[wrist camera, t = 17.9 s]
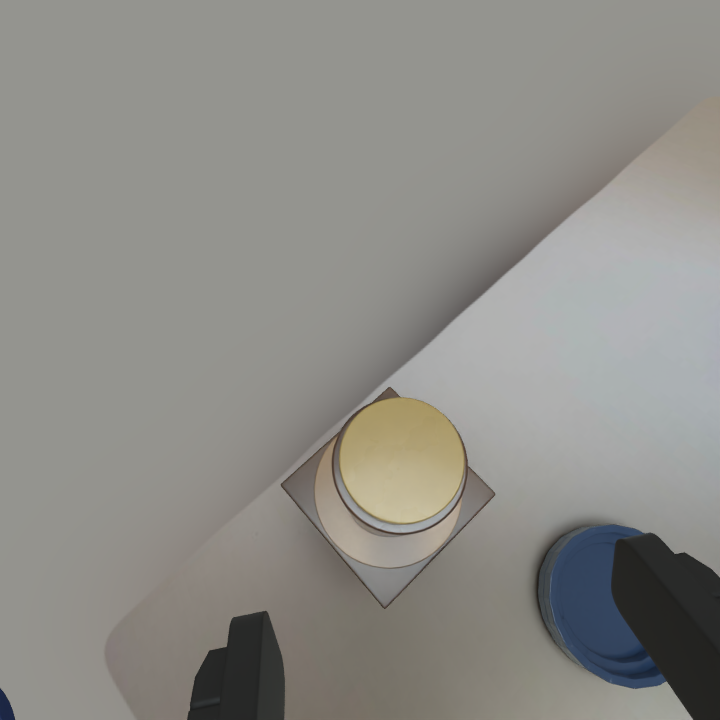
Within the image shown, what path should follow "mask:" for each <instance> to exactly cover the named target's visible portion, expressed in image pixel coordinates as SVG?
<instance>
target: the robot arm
mask: <svg viewBox="0 0 720 720" xmlns="http://www.w3.org/2000/svg"><path fill="white" fill-rule="evenodd" d="M611 591H612V596H613V599H614V602H615V604H616V606H617V609H618V610H619V612H620V614H621V615H622V617H623V618H624V620H625V621H626V623H627V624H628V626H629V627H630V629H631V630H632V632H633V633H634V634H635V636H636V637H637V639H638V640H639V642H640V643H641V645H642V646H643V647H644V649H645V650H646V652H647V653H648V655H649V656H650V658H651V659H652V660H653V662H654V663H655V665H656V666H657V668H658V669H659V671H660V672H661V674H662V675H663V676H664V678H665V679H666V681H667V682H668V684H669V685H670V687H671V688H672V689H673V691H674V692H675V694H676V695H677V697H678V698H679V700H680V701H681V703H682V704H683V705H684V707H685V708H686V710H687V711H688V713H689V714H690V716H691V717H692V718H693V720H720V577H719V576H718V575H717V574H716V573H715V572H714V571H713V570H712V569H711V568H709V567H707V566H706V565H704V564H702V563H701V562H699V561H698V560H696V559H694V558H693V557H691V556H690V555H688V554H686V553H685V552H684V553H679V554H674V553H673V552H672V551H671V550H670V549H669V547H668V546H667V545H666V544H665V543H664V542H663V541H662V540H661V539H660V538H659V537H658V536H657V535H655V534H653V533H646V534H641V535H636V536H631V537H626V538H622V539H618V540H617V541H616V543H615V550H614V559H613V569H612V578H611ZM284 706H285V677H284V666H283V660H282V655H281V651H280V648H279V645H278V642H277V639H276V636H275V633H274V630H273V627H272V624H271V620H270V617H269V615H268V612H267V611H262V612H258V613H253V614H248V615H243V616H238V617H234V618H232V620H231V623H230V628H229V635H228V643H227V647H224V648H220V649H215V650H210V651H209V652H208V654H207V656H206V658H205V660H204V662H203V663H202V665H201V667H200V669H199V671H198V673H197V674H196V676H195V680H194V686H193V691H192V697H191V702H190V711H189V713H188V718H187V720H284Z"/></svg>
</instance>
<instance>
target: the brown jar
mask: <svg viewBox="0 0 720 720" xmlns="http://www.w3.org/2000/svg"><path fill="white" fill-rule="evenodd" d="M332 476H333V480H334V484H335V487H336V490H337V493H338V495H339V497H340V499H341V500H342V502H343V504H344V505H345V507H346V509H347V510H348V512H349V513H350V515H351V516H352V518H353V519H354V521H355V522H356V523H357V524H358V525H359V526H360V527H362V528H363V529H364V530H366V531H367V532H369V533H372V534H374V535H377V536H381V537H398V536H405V535H411V534H416V533H420V532H423V531H426V530H428V529H431V528H432V527H434V526H436V525H438V524H439V523H440V522H442V521H443V520H444V519H446V518H447V517H448V516H449V515H450V513H451V512H452V511H453V510H454V509H455V507H456V506H457V504H458V503H459V501H460V499H461V497H462V495H463V492H464V489H465V486H466V482H467V476H468V460H467V454H466V450H465V446H464V443H463V441H462V439H461V437H460V434H459V433H458V431H457V430H456V428H455V426H454V425H453V424H452V423H451V422H450V420H449V419H448V418H447V417H446V416H445V415H444V414H442V413H441V412H440V411H439V410H437V409H436V408H434V407H433V406H431V405H429V404H427V403H425V402H422V401H419V400H416V399H411V398H404V397H393V398H385V399H381V400H378V401H375V402H372V403H370V404H368V405H366V406H364V407H363V408H361V409H360V410H358V411H357V412H356V413H355V414H353V415H352V416H351V417H350V418H349V420H348V421H347V422H346V423H345V424H344V426H343V427H342V429H341V431H340V432H339V435H338V437H337V439H336V442H335V445H334V448H333V454H332Z"/></svg>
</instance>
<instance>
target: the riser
mask: <svg viewBox="0 0 720 720" xmlns="http://www.w3.org/2000/svg"><path fill="white" fill-rule="evenodd" d="M393 397H400V396H399V395H398V394H397V393H396V392H395V391H394V390H393V389H392V388H391V387H389V388H387V389H386V390H385V391H384V392H383V393H382V394H381V395H380V396H379V397H377V398H376V399H375V400H374V401H373V402H375V401H378V400H381V399H385V398H393ZM338 435H339V432H338V433H337V434H336V435H335V436H334V437H333V438H332V439H331V440H330V441H328V442H327V443H326V444H325V445H324V446H323V447H322V448H321V449H319V450H318V451H317V452H316V453H315V454H314V455H313V456H312V457H311V458H309V459H308V460H307V461H306V462H305V463H304V464H303V465H302V466H301V467H299V468H298V469H297V470H296V471H295V472H294V473H293V474H292V475H291V476H289V477H288V478H287V479H286V480H285V481H284V482H283V483H282V484H281V487H282V488H283V489H284V490H285V491H286V492H287V494H288V495H289V496H290V497H291V498H292V500H293V501H294V502H295V503H296V504H297V506H298V507H299V508H300V509H301V510H302V512H303V513H304V514H305V515H306V516H307V518H308V519H309V520H310V521H311V522H312V524H313V525H314V526H315V527H316V528H317V529H318V531H319V532H320V533H321V534H322V535H323V537H324V538H325V539H326V540H327V541H328V543H329V544H330V545H331V546H332V547H333V549H334V550H335V551H336V552H337V553H338V555H339V556H340V557H341V558H342V559H343V561H344V562H345V563H346V564H347V565H348V567H349V568H350V569H351V570H352V571H353V572H354V574H355V575H356V576H357V577H358V578H359V580H360V581H361V582H362V583H363V584H364V586H365V587H366V588H367V589H368V590H369V592H370V593H371V594H372V595H373V596H374V598H375V599H376V600H377V601H378V602H379V604H380V605H381V606H382V607H383V608H384V609H386V608H387V607H388V606H389V605H390V604H391V603H392V602H393V601H394V600H395V598H396V597H397V596H398V595H399V594H400V593H401V592H402V591H403V590H404V589H405V588H406V587H407V586H408V585H409V584H410V583H411V582H412V581H413V580H414V579H415V578H416V577H417V576H418V575H419V574H420V573H421V572H422V571H423V569H424V568H425V567H426V566H427V565H428V564H429V563H430V562H431V561H432V560H433V559H434V558H435V557H436V556H437V555H438V554H439V553H440V552H441V551H442V550H443V549H444V548H445V547H446V546H447V545H448V544H449V543H450V541H451V540H452V539H453V538H454V537H455V536H456V535H457V534H458V533H459V532H460V531H461V530H462V529H463V528H464V527H465V526H466V525H467V524H468V523H469V522H470V521H471V520H472V519H473V518H474V517H475V516H476V515H477V513H478V512H479V511H480V510H481V509H482V508H483V507H484V506H485V505H486V504H487V503H488V502H489V501H490V500H491V499H492V498H493V497H494V496H495V493H494V492H493V490H492V489H491V488H490V487H489V486H488V485H487V484H486V483H485V482H484V481H483V480H482V479H481V478H480V477H479V476H478V475H477V474H476V473H475V472H474V471H473V470H472V469H471V468H470V467H469V466H468V476H467V482H466V486H465V489H464V492H463V495H462V504H461V509H460V514H459V517H458V520H457V523H456V525H455V527H454V529H453V531H452V533H451V535H450V536H449V538H448V539H447V540H446V542H445V543H444V544H443V545H442V546H441V547H440V548H439V549H438V550H437V551H436V552H435V553H433V554H432V555H431V556H429V557H428V558H426V559H424V560H423V561H421V562H418V563H416V564H414V565H410V566H407V567H403V568H394V569H386V568H377V567H372V566H369V565H365V564H362V563H360V562H358V561H356V560H354V559H352V558H351V557H349V556H348V555H346V554H345V553H344V552H342V551H341V550H340V549H339V548H338V547H337V546H336V545H335V544H334V543H333V542H332V540H331V539H330V538H329V536H328V535H327V533H326V532H325V530H324V528H323V526H322V524H321V522H320V520H319V517H318V514H317V511H316V506H315V499H314V483H315V476H316V471H317V468H318V465H319V462H320V460H321V458H322V456H323V454H324V452H325V451H326V449H327V448H328V446H329V445H330V444H331V442H332V441H333V440H334V439H335V438H336V437H337V436H338Z"/></svg>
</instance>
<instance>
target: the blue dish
mask: <svg viewBox="0 0 720 720" xmlns="http://www.w3.org/2000/svg"><path fill="white" fill-rule="evenodd" d="M641 534H644V533H642V532H641V531H639V530H637V529H633V528H629V527H624V526H619V525H599V526H590V527H582V528H578V529H576V530H574V531H572V532H570V533H568V534H566V535H564V536H562V537H561V538H560V539H559V540H558V541H557V542H556V543H555V545H554V546H553V547H552V548H551V549H550V550H549V551H548V553H547V555H546V558H545V560H544V563H543V565H542V568H541V570H540V573H539V587H538V598H539V603H540V607H541V612H542V617H543V619H544V622H545V624H546V626H547V628H548V629H549V631H550V633H551V635H552V637H553V639H554V641H555V642H556V644H557V645H558V646H559V647H560V648H561V649H562V650H563V651H564V652H565V653H566V654H567V655H568V657H569V658H570V659H571V660H572V661H574V662H575V663H577V664H578V665H580V666H582V667H583V668H585V669H587V670H588V671H590V672H592V673H593V674H595V675H597V676H598V677H600V678H602V679H604V680H605V681H607V682H609V683H611V684H616V685H620V686H624V687H629V688H633V689H634V688H635V689H637V688H645V687H653V686H658V685H661V684H662V683H664V682H666V679H665V678H664V676H663V675H662V674H661V672H660V671H659V669H658V668H657V666H656V665H655V663H654V662H653V660H652V659H651V658H650V656H649V655H648V653H647V652H646V650H645V649H644V647H643V646H642V645H641V643H640V642H639V640H638V639H637V637H636V636H635V634H634V633H633V632H632V630H631V629H630V627H629V626H628V624H627V623H626V621H625V620H624V618H623V617H622V615H621V614H620V612H619V610H618V609H617V606H616V604H615V602H614V599H613V596H612V591H611V578H612V569H613V559H614V550H615V543H616V541H617V540H618V539H622V538H626V537H631V536H636V535H641Z"/></svg>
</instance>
